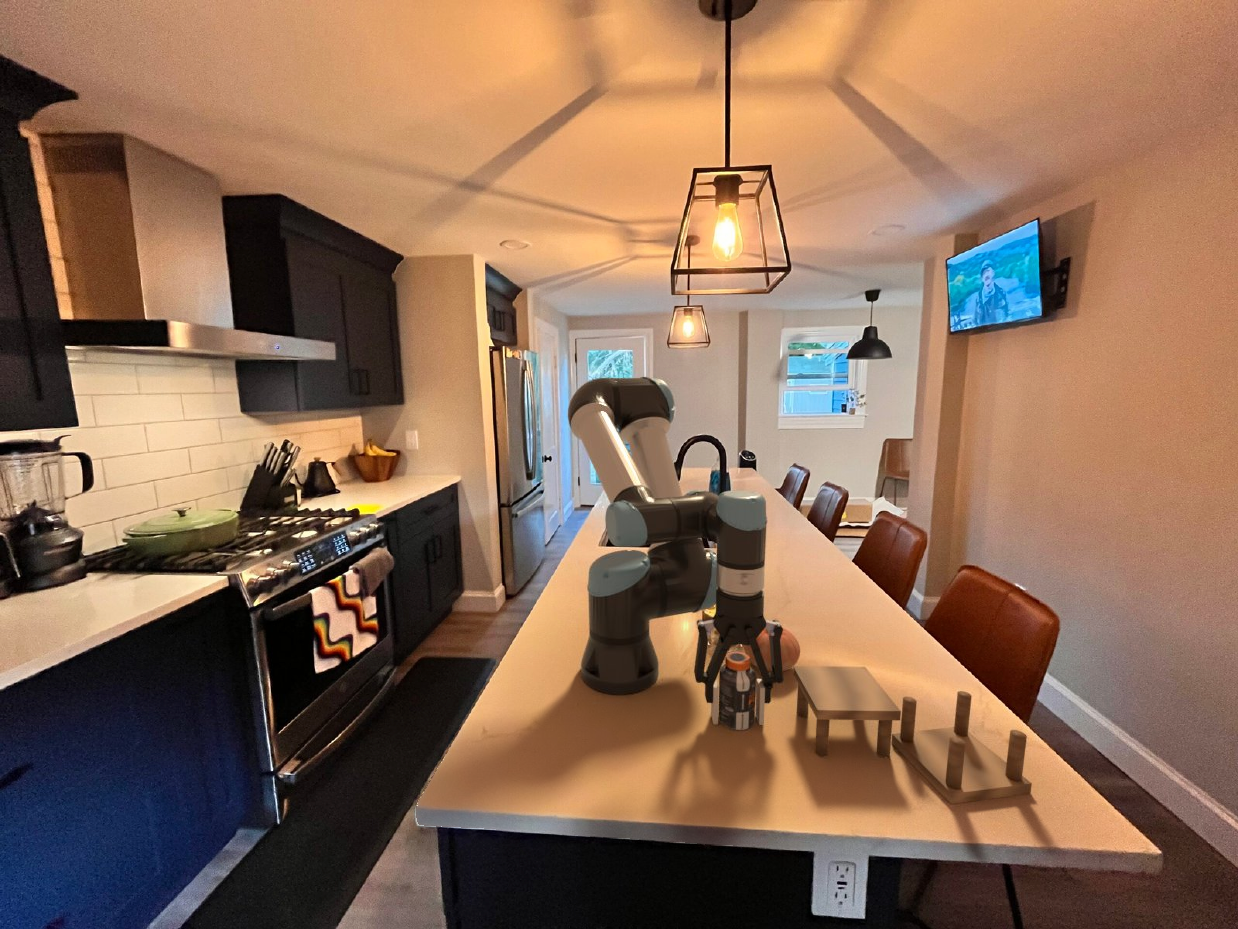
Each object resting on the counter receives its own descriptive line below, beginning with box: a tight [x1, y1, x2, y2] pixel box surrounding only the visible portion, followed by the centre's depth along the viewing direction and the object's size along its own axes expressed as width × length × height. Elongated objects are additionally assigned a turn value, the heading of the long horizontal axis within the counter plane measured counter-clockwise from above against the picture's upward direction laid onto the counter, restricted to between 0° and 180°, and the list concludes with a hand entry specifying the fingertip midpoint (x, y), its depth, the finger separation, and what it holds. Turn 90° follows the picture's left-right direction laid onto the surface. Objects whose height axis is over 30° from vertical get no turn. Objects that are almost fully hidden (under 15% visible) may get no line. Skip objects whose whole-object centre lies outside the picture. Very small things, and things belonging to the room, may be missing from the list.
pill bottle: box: [718, 651, 757, 731], centre depth 85 cm, size 6×6×11 cm
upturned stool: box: [891, 690, 1033, 805], centre depth 74 cm, size 12×12×8 cm
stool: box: [792, 665, 902, 759], centre depth 82 cm, size 12×12×8 cm
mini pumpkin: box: [742, 627, 801, 672], centre depth 102 cm, size 11×11×8 cm
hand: (736, 719), depth 86 cm, fingers open, 7 cm apart
